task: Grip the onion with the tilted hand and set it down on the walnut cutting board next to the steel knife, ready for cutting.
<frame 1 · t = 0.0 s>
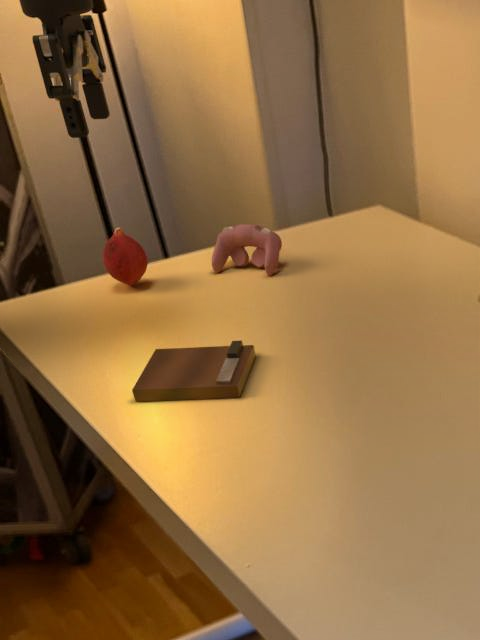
hand: (90, 127, 116), 23 cm above the table, tool pointing down, fingers open, 8 cm apart
cutting board: (197, 378, 116), on the table
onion: (132, 287, 140), on the table
video game controller: (250, 270, 144), on the table
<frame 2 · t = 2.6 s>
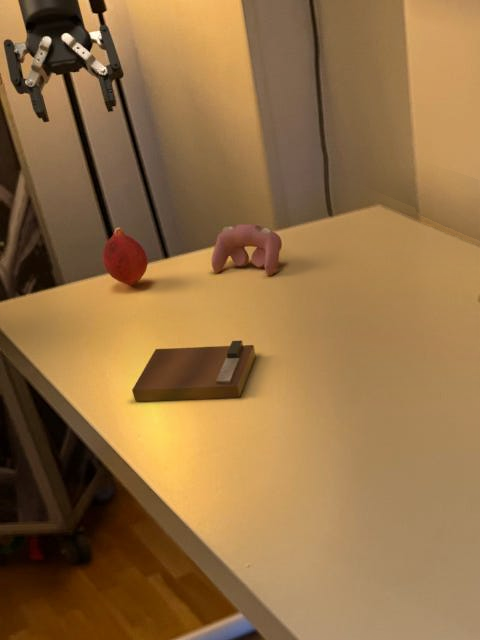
hand: (77, 113, 132), 21 cm above the table, tool tilted 40°, fingers open, 8 cm apart
nothing on the table moved.
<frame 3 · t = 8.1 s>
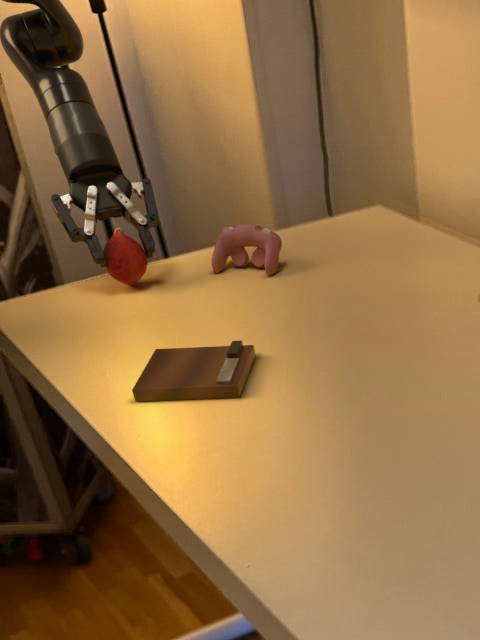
hand: (127, 259, 136), 4 cm above the table, tool tilted 45°, fingers closed on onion, 5 cm apart
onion: (132, 287, 140), on the table, touching gripper
everything else where it was.
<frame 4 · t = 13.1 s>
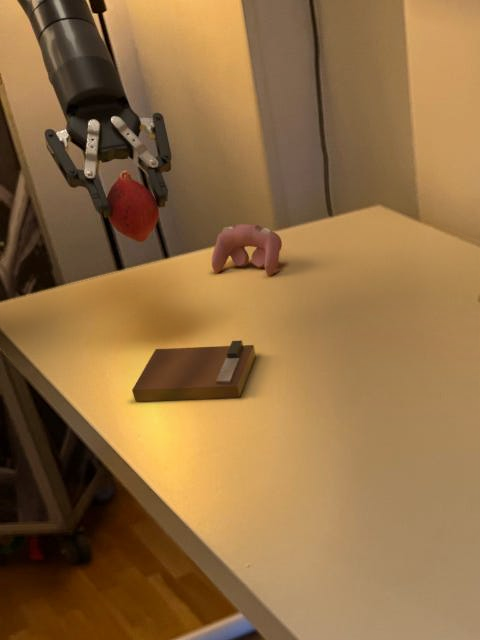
hand: (135, 208, 115), 16 cm above the table, tool tilted 45°, fingers closed on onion, 5 cm apart
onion: (141, 243, 119), point 12 cm above the table, touching gripper
everything else where it was.
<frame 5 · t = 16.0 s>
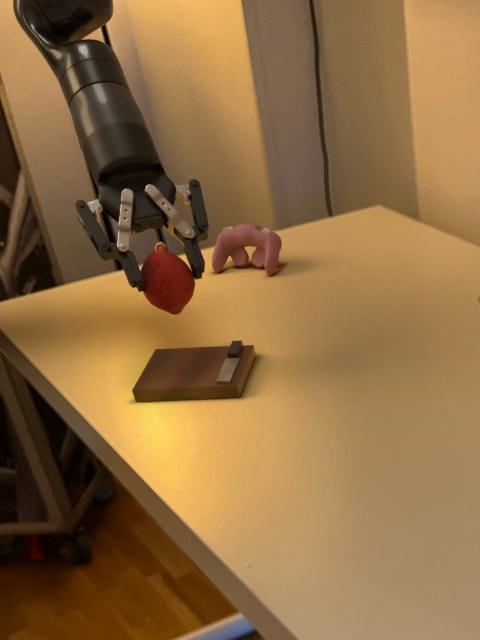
hand: (170, 281, 108), 12 cm above the table, tool tilted 45°, fingers closed on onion, 5 cm apart
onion: (176, 316, 112), point 7 cm above the table, touching gripper
everything else where it was.
when the fingers open (6 cm above the table, at t = 18.1 s): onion stays where it is, resting on cutting board.
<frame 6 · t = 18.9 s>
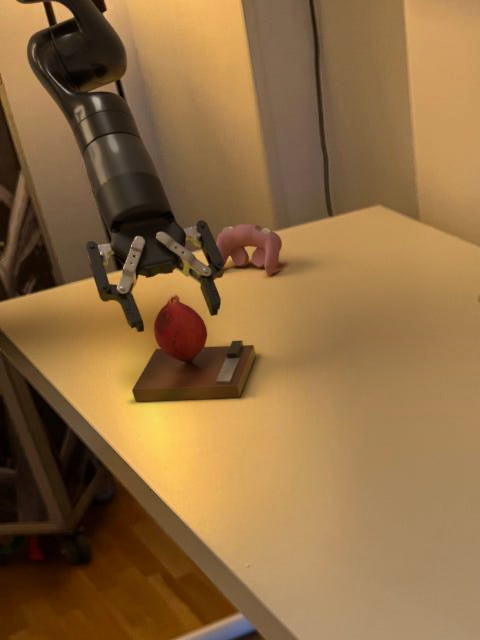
hand: (178, 320, 111), 7 cm above the table, tool tilted 45°, fingers open, 8 cm apart
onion: (188, 364, 116), point 1 cm above the table, touching cutting board
everything else where it was.
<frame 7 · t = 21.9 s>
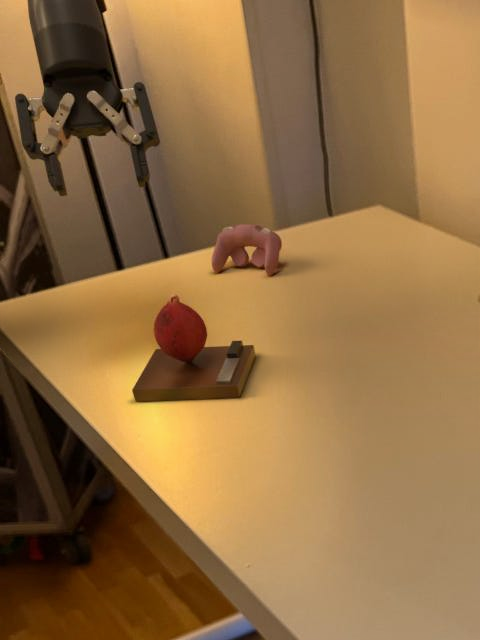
hand: (102, 188, 109), 20 cm above the table, tool tilted 35°, fingers open, 8 cm apart
nothing on the table moved.
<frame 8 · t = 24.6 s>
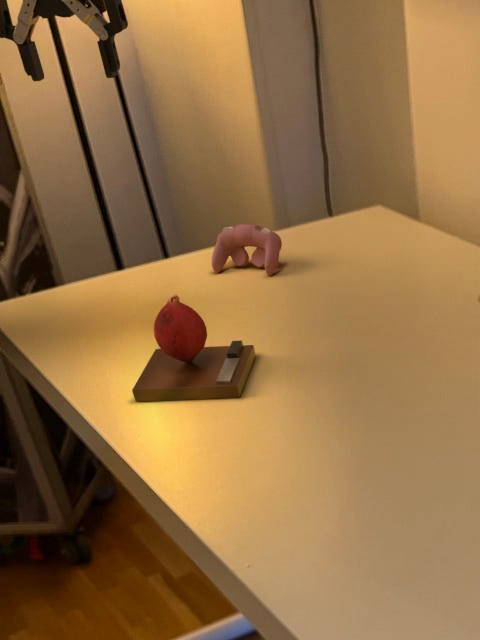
hand: (75, 78, 113), 28 cm above the table, tool pointing down, fingers open, 8 cm apart
nothing on the table moved.
at the end: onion inside the target area on the cutting board (1.2 cm from its centre), point 1.3 cm above the cutting board's base; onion tilted 0°; the gripper is holding nothing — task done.
